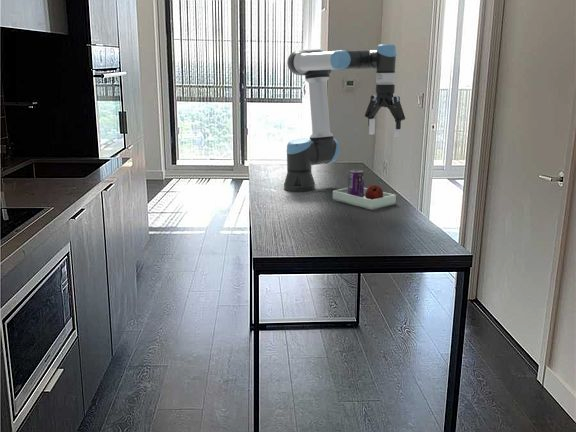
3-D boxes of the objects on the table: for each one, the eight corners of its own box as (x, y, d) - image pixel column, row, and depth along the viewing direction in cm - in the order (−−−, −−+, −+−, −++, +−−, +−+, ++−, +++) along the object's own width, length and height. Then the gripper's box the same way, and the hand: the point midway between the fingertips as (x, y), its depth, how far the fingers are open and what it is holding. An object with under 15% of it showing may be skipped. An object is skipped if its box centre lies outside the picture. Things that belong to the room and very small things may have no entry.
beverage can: (364, 199, 245) (364, 172, 241) (347, 199, 245) (348, 172, 242) (363, 195, 251) (364, 169, 248) (347, 195, 252) (348, 169, 249)
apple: (363, 204, 237) (363, 185, 235) (367, 200, 244) (367, 182, 242) (381, 205, 234) (381, 186, 232) (384, 201, 241) (384, 183, 239)
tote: (332, 199, 249) (332, 190, 248) (356, 194, 258) (356, 185, 257) (371, 209, 231) (371, 200, 230) (395, 203, 240) (395, 194, 239)
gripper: (357, 83, 237) (356, 133, 242) (402, 84, 218) (400, 139, 223) (369, 82, 241) (368, 132, 247) (415, 84, 222) (413, 137, 228)
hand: (383, 135), depth 235 cm, fingers open, 13 cm apart
